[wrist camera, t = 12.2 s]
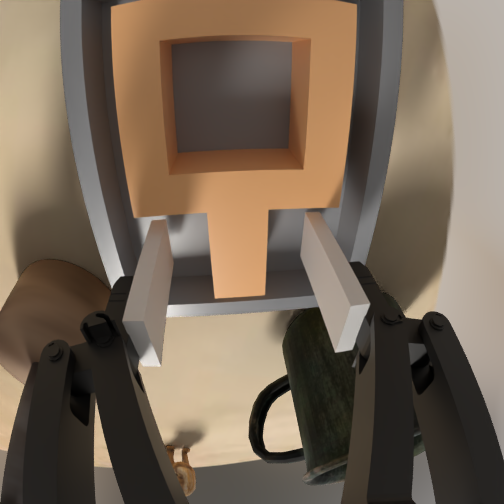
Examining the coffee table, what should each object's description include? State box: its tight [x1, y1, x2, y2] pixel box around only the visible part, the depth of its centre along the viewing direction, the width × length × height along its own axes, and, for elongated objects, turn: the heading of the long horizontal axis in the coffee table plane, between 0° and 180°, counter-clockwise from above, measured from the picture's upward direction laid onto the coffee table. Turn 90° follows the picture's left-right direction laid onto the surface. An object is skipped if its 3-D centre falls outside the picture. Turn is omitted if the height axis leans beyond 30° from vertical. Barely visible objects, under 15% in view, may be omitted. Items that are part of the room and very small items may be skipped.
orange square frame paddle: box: [111, 0, 357, 299], centre depth 13 cm, size 14×9×3 cm, turn 0°
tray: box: [60, 0, 403, 317], centre depth 13 cm, size 14×18×3 cm
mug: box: [249, 292, 425, 485], centre depth 20 cm, size 11×15×12 cm
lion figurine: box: [167, 446, 196, 496], centre depth 37 cm, size 15×5×9 cm, turn 143°
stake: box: [0, 259, 111, 504], centre depth 13 cm, size 9×9×18 cm
